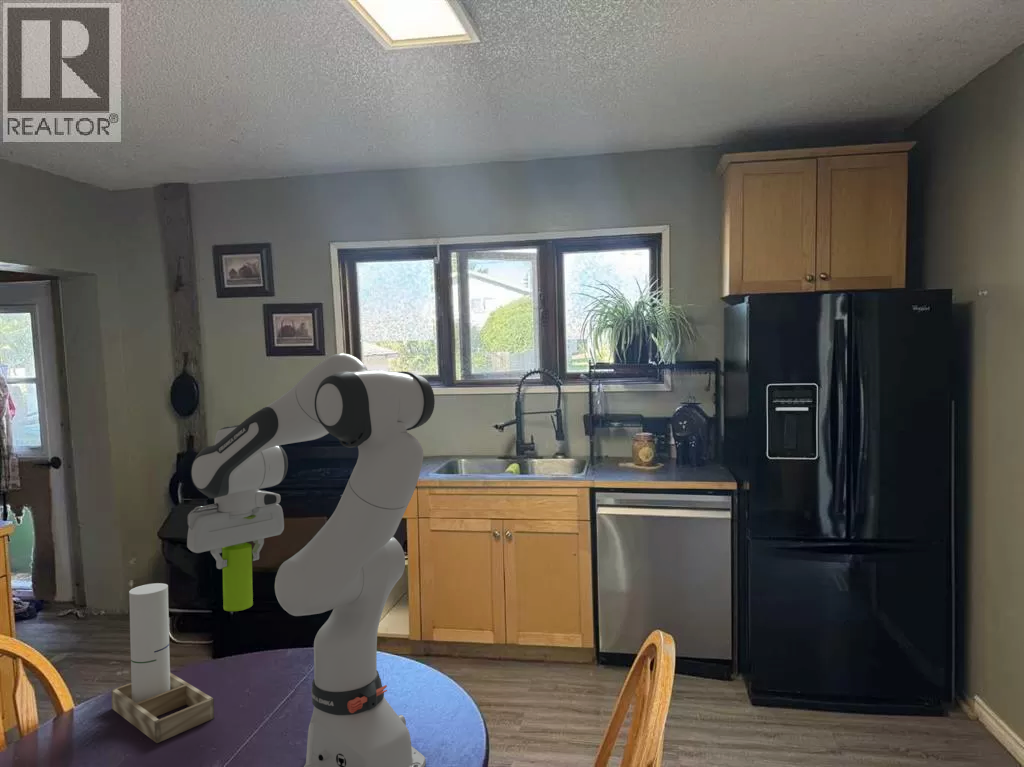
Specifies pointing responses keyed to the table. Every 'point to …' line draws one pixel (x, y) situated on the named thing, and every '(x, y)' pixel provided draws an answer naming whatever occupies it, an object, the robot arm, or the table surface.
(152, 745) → the table surface
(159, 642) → the cylindrical container
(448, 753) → the table surface
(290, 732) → the table surface
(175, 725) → the frame
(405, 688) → the table surface
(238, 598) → the soap dispenser
